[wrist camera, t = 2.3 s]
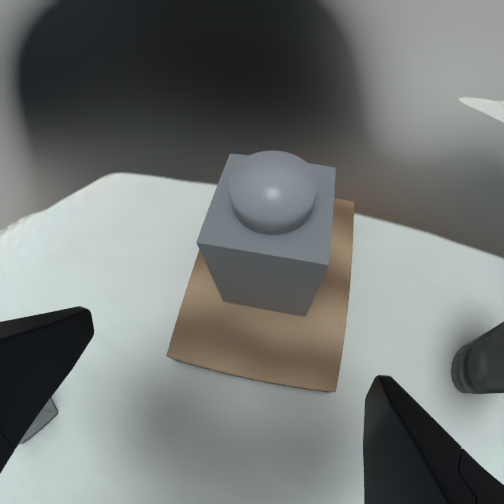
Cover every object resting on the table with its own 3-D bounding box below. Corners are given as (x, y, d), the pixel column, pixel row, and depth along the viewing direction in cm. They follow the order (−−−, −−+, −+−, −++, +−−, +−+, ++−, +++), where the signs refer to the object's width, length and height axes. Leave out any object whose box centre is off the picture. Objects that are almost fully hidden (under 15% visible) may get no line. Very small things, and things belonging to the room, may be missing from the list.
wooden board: (329, 392, 19) (351, 391, 13) (174, 359, 20) (143, 346, 15) (348, 214, 26) (364, 171, 21) (226, 195, 28) (217, 150, 22)
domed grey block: (305, 316, 20) (334, 248, 11) (223, 301, 20) (188, 224, 12) (316, 244, 22) (340, 147, 13) (242, 231, 23) (227, 133, 14)
